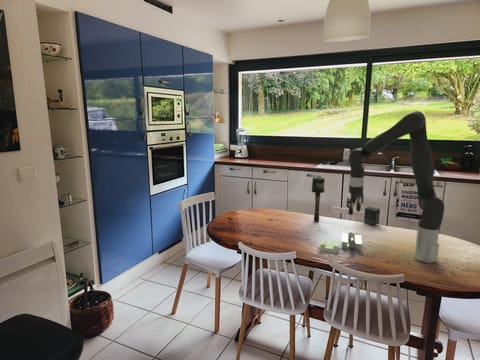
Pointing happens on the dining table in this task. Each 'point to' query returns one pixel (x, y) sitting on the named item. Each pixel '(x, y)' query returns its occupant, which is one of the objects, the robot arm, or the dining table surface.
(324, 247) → the cradle
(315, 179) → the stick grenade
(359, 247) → the bore block
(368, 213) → the box
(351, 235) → the axle
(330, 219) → the dining table surface
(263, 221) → the dining table surface
